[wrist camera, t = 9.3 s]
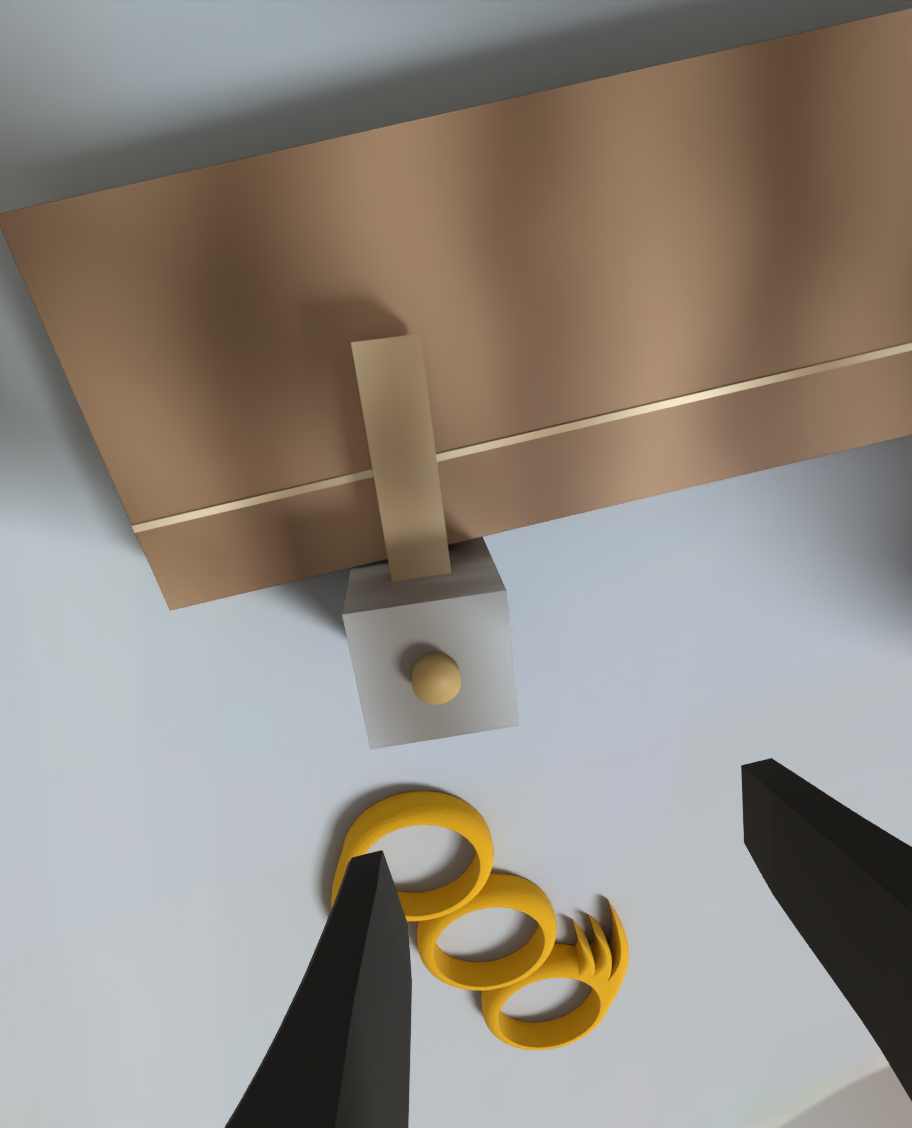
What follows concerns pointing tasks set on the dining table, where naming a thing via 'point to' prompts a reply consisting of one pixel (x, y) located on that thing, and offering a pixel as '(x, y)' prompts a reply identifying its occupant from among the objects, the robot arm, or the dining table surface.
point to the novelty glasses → (486, 891)
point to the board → (497, 304)
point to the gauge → (421, 579)
